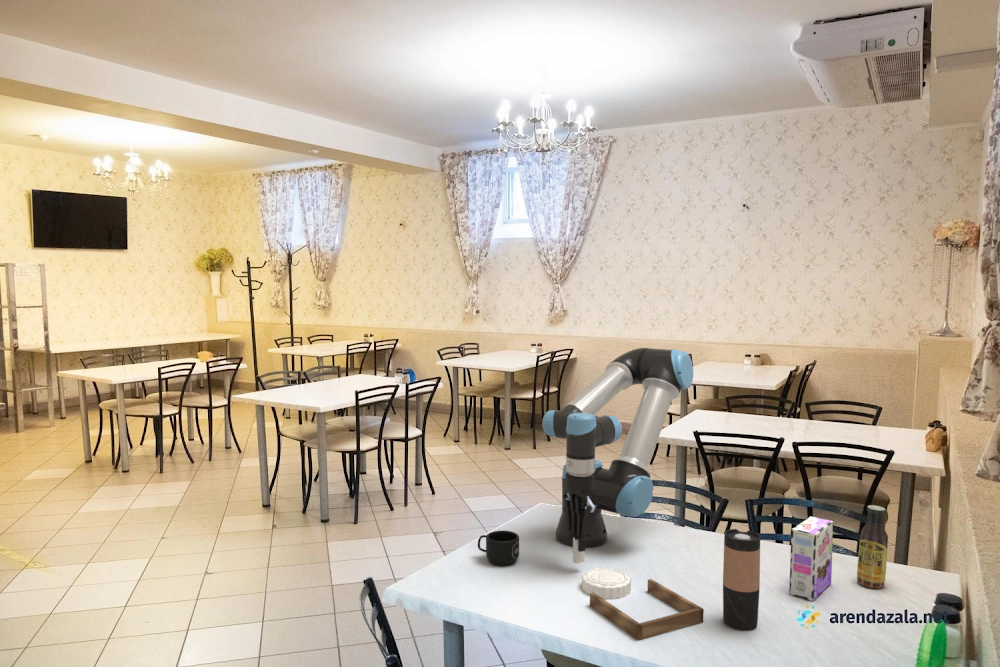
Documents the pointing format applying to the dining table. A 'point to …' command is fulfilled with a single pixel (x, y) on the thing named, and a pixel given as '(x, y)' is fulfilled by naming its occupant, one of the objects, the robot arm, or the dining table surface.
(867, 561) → the sauce bottle
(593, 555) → the dining table surface
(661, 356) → the robot arm
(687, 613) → the wooden u-shaped frame
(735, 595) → the travel mug
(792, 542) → the candy box
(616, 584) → the mooncake
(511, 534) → the mug
